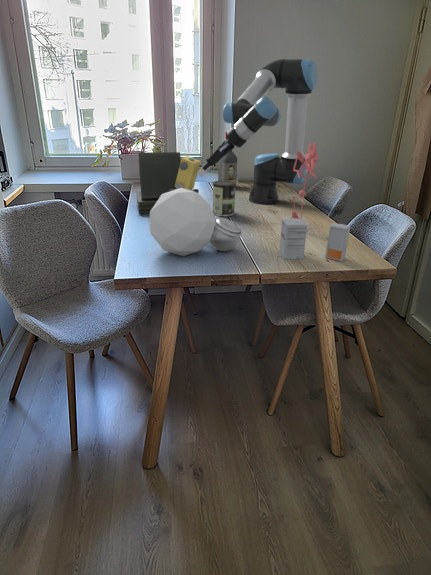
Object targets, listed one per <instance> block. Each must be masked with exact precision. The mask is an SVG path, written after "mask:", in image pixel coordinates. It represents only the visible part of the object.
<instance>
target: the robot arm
mask: <svg viewBox="0 0 431 575" xmlns="http://www.w3.org/2000/svg"><path fill="white" fill-rule="evenodd" d="M317 83H318V68H317V65H316V62H315V61H314V60H312V59H306V58H299V59H298V58H296V59H295V58H291V59H290V58H289V59H288V58H287V59H286V58H283V59H282V58H281V59H276V60H273V61H271V62H269V63H268V64H266V65H264V66H263V67H262V68H260V70H258V71H257V73H256V75H255V77H254V80H252V82H251V83H250V84H249V85H248V87H246V89H245V90H244V91H243V93H242V94H241V95H240V96H239V97H238V99H236V101H235V102H227V103H225V104H224V106H223V108H222V120H223V122H225V123H227V124H232V125H234V126H232V127H231V128H230V129H229V130H228V131H226V132H227V136H228V138H229V140H226V139H225V140H224V141H223V142H222V144H221V145H219V146H218V148H217V149H216V150H215V151H214V153H212V154H211V156H209V158H206V159H205V161H206V162H205V163H204V164H203V165H201V167H199V169H198V171H197V175H198V176H199V177H200V178H202V177H204V176H205V175H206V173H208V172H209V170H211V169H212V167H216V166H217V163H218V164H219V160H220V159H221V158H223V157H224V156H225V155H226V154H227V153H228V152H229V151H230V150H232V151H233V150H234V149H235V147H237V148H242V147H243V146H244V145H245V144H246V143H247V140H250V139H251V138H254V137H255V134H256V133H257V132H258V131H259V130H260V129H261V128H262V127H275V126H276V125H278V123H279V122H280V120H281V117H282V116H281V111H280V108H278V107H276V106H277V105H275V104H274V102H273V101H272V99H271V98H269V97H268V96H266V95H267V93H269V92H271V91H272V90H273V89H285V91H284V94H285V95H286V96H287V100H288V102H287V113H286V114H287V115H286V129H285V130H286V131H285V143H284V144H285V145H284V146H285V148H284V151H283V152H282V153H281V157H280V154H279V153H273V152H272V153H264V154H263V153H262V154H258V155H256V156H255V157H254V164H253V183H252V184H253V185H252V187H251V190H250V192H249V196H248V201H250V203H254V204H260V205H261V204H262V205H273V204H277V203H278V202H279V193H278V188H277V182H278V183H284V184H285V183H287V184H292V185H294V184H295V185H301V184H302V183H303V182H304V183H305V181H306V179H305V178H304V177H303V176H302V175H304V176H305V177H306V178H307V175H308V174H307V173H306V167H304V170H303V172H302V175H301V177H300V179H299V177H298V173H297V172H296V171H293V170H294V165H295V161H296V157H297V152H298V151H300V153H301V154H302V155H303V157H304V162H305V155H306V154H305V152H304V146H305V143H304V142H305V133H306V132H305V131H306V122H307V109H308V100H309V99H308V98H309V97H310V96H311V95H312V93H313V91H312V90H315V89H316V88H317ZM304 162H303V163H304ZM303 163H301V162H300V160H299V159H298V158H297V162H296V166H295V170H299V169H300V167H301V166H302V164H303ZM306 164H307V162H306ZM303 166H304V165H303ZM302 169H303V167H302V168H301V169H300V171H299V172H300V173H301V171H302ZM299 176H300V174H299Z"/></svg>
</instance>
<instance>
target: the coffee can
mask: <svg viewBox="0 0 431 575" xmlns="http://www.w3.org/2000/svg"><path fill="white" fill-rule="evenodd" d="M235 185H236V186H237V182H236V183H235V182H232V181H218V180H216V181H213V182H212V211H213V214H214V216H219V217H230V216H234V215H235V203H236V202H235V199H236V187H235Z"/></svg>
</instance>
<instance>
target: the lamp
mask: <svg viewBox="0 0 431 575" xmlns="http://www.w3.org/2000/svg"><path fill="white" fill-rule="evenodd" d="M148 224H149V231H150V235H151V236H152V237H153V239H154V240H155V241H156V242H157V244H158V245H159V247H161V249H162V250H163V251H164V252H168V253H170V254H175V255H178V256H182V257H185V256H188V255H191V254H194V253H196V252H199V251H201V250H203V248H204V247H206V245H208V243H209V244H210V246H211V247H212V248H214V249H215V250H216V251H217V250H218V251H220V252H228V251H231V250H234V248H236V247H237V246H238V244H239V243H240V242H241V236H242V230H241V229H240V226H239V225H238V224H237V223H235V222H234V221H232V220H230V219H228V218H225V217H224V218H223V217H219V218H216V217H215V215H214V214H213V208H212V206H211V204H210V203H209V202H208V200H206V199H205V197H204V196H203V195H202V194H201V193H197V192H194V191H191V190H187V189H184V188H179V189H176V190H173V191H170V192H167V193H164V194H162V195H161V196H160V198H159V199H158V201H157V202H156V204H155V205H154V207H153V208H152V210H151V211H150V214H149V222H148Z"/></svg>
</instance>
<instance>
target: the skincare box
mask: <svg viewBox="0 0 431 575" xmlns="http://www.w3.org/2000/svg"><path fill="white" fill-rule="evenodd" d="M350 231H351V225H348V224H343V223H336V222H333V223H331V225H330V227H329V231H328V232H329V233H328V238H327V244H326V250H325V258H326V259H331V260H334V261H335V260H336V261H338V262H343V260H344V259H345V258H346V254H347V249H348V248H347V247H348V241H349V235H350Z"/></svg>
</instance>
